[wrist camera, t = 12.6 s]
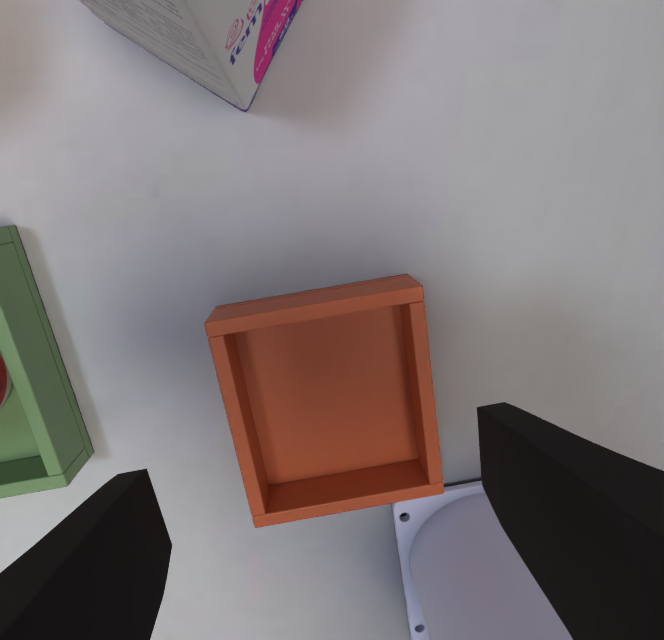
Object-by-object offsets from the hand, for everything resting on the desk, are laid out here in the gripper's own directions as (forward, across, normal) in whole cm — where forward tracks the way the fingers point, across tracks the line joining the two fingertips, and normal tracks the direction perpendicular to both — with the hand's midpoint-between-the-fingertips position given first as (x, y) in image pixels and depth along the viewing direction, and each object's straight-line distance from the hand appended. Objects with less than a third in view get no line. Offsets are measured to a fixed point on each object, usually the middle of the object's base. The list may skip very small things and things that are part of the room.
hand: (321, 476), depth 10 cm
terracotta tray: (+10, 0, +3) cm, 11 cm away
